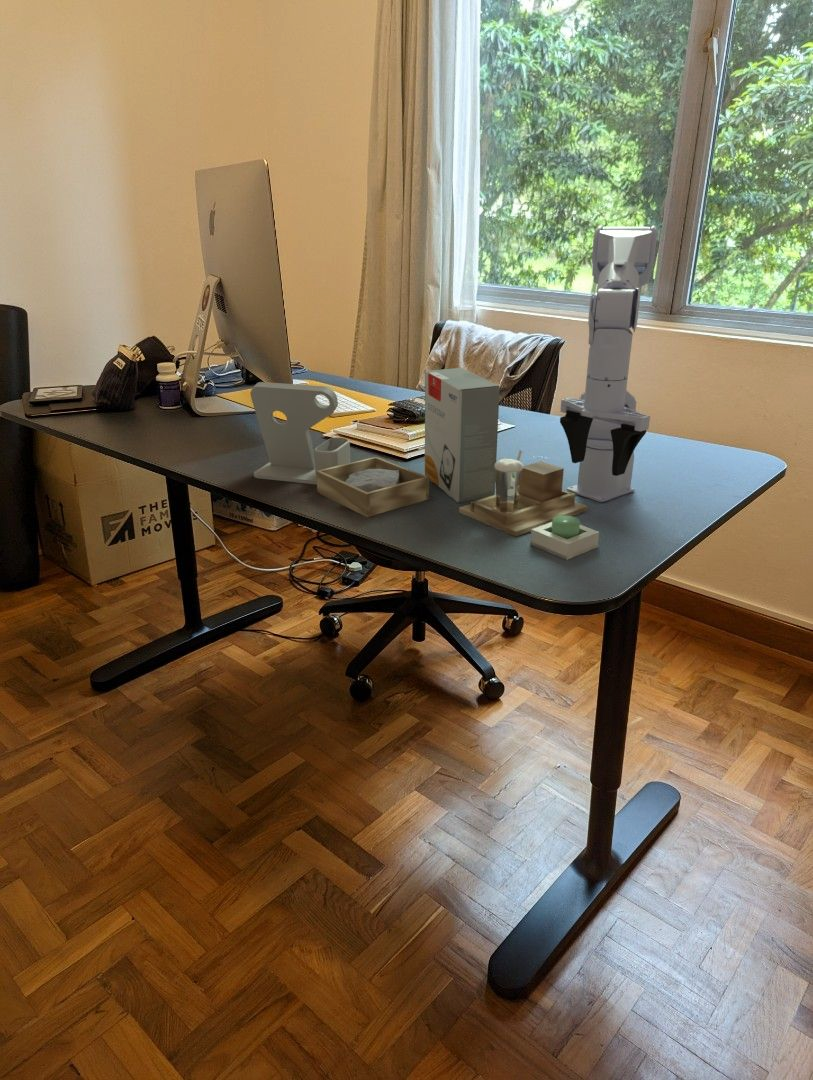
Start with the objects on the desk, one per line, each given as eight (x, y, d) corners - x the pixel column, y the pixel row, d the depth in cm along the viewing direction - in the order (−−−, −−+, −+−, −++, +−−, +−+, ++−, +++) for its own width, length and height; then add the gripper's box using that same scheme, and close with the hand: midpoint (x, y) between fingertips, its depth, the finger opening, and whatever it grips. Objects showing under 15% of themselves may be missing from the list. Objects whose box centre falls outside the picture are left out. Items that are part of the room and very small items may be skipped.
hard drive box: (423, 476, 141) (423, 370, 133) (459, 471, 143) (462, 367, 135) (456, 503, 128) (459, 387, 120) (496, 497, 130) (502, 384, 122)
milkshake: (529, 511, 122) (533, 453, 118) (509, 520, 118) (512, 460, 114) (506, 504, 125) (509, 447, 121) (486, 513, 121) (489, 454, 117)
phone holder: (356, 470, 145) (353, 377, 137) (336, 487, 136) (331, 388, 128) (275, 462, 149) (268, 371, 142) (250, 477, 141) (241, 382, 133)
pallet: (529, 490, 134) (530, 477, 133) (586, 510, 124) (588, 497, 123) (458, 512, 124) (459, 498, 123) (515, 536, 115) (516, 522, 114)
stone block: (344, 517, 126) (401, 505, 125) (336, 491, 125) (394, 478, 124) (351, 497, 138) (404, 486, 136) (345, 472, 136) (398, 461, 135)
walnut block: (538, 494, 129) (541, 461, 127) (560, 502, 126) (563, 468, 123) (518, 500, 126) (520, 467, 124) (540, 509, 123) (543, 474, 120)
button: (563, 528, 113) (564, 513, 112) (584, 536, 110) (585, 521, 109) (545, 535, 111) (546, 519, 110) (566, 543, 108) (567, 528, 107)
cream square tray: (561, 532, 116) (562, 518, 115) (597, 547, 111) (599, 531, 110) (530, 544, 112) (531, 529, 111) (566, 560, 107) (568, 544, 106)
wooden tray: (376, 477, 141) (376, 456, 139) (428, 499, 130) (429, 477, 128) (317, 492, 133) (316, 470, 131) (367, 517, 122) (366, 494, 121)
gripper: (549, 372, 109) (543, 461, 115) (632, 389, 99) (620, 485, 104) (581, 367, 113) (573, 452, 119) (663, 382, 103) (651, 475, 108)
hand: (597, 467), depth 112 cm, fingers open, 7 cm apart
